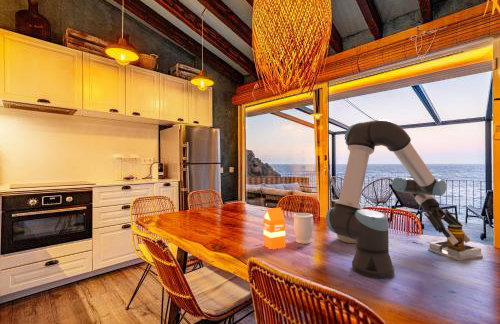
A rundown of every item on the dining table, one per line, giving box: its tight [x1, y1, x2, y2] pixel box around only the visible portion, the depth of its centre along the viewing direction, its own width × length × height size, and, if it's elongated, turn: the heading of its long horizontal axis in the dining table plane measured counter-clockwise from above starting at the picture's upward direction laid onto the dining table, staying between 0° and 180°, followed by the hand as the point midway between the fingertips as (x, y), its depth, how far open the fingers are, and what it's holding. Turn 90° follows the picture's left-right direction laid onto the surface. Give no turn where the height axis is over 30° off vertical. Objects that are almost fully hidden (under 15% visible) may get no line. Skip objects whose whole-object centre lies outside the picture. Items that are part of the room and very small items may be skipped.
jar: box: [293, 212, 314, 245], centre depth 137 cm, size 11×10×15 cm
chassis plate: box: [427, 239, 484, 261], centre depth 116 cm, size 15×14×4 cm
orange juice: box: [263, 207, 286, 250], centre depth 130 cm, size 8×9×20 cm
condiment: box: [442, 224, 465, 251], centre depth 116 cm, size 7×8×12 cm
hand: (462, 242), depth 113 cm, fingers open, 7 cm apart
